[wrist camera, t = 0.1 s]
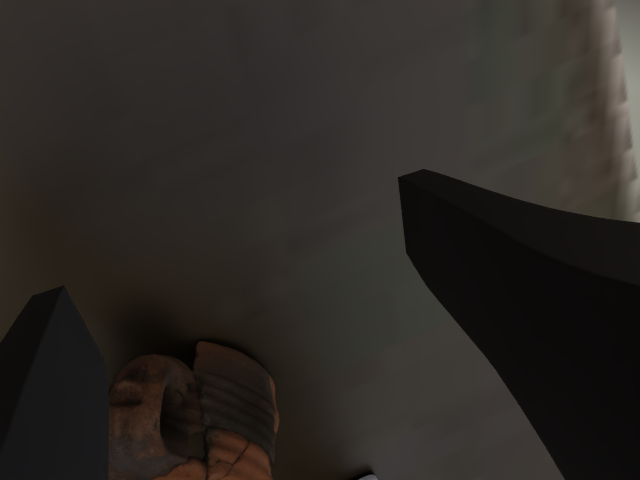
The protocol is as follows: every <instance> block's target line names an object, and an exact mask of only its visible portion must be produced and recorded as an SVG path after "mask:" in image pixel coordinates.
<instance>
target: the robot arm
mask: <svg viewBox="0 0 640 480" xmlns="http://www.w3.org/2000/svg"><path fill="white" fill-rule="evenodd" d="M398 182H399V191H400V201H401V210H402V219H403V228H404V237H405V246H406V253H407V255H408V256H409V258H410V260H411V261H412V263H413V265H414V266H415V268H416V270H417V271H418V273H419V275H420V276H421V278H422V279H423V281H424V282H425V284H426V286H427V287H428V288H429V289H430V291H431V292H432V293H433V294H434V296H435V297H436V298H437V299H438V300H439V302H440V303H441V304H442V305H443V307H444V308H445V309H446V310H447V311H448V313H449V314H450V315H451V316H452V317H453V318H454V320H455V321H456V322H457V323H458V324H459V326H460V327H461V328H462V329H463V330H464V331H465V333H466V334H467V335H468V336H469V337H470V339H471V340H472V341H473V342H474V343H475V345H476V346H477V347H478V348H479V349H480V350H481V352H482V353H483V354H484V355H485V357H486V358H487V359H488V360H489V362H490V363H491V364H492V366H493V367H494V368H495V370H496V371H497V373H498V374H499V376H500V377H501V379H502V380H503V382H504V383H505V385H506V386H507V388H508V389H509V391H510V392H511V394H512V395H513V397H514V398H515V400H516V401H517V403H518V404H519V406H520V407H521V409H522V410H523V412H524V413H525V415H526V417H527V418H528V420H529V421H530V423H531V425H532V426H533V428H534V429H535V431H536V432H537V434H538V436H539V437H540V439H541V440H542V442H543V444H544V445H545V447H546V449H547V450H548V452H549V454H550V455H551V457H552V459H553V460H554V462H555V464H556V465H557V467H558V469H559V471H560V472H561V474H562V476H563V477H564V479H565V480H640V223H637V222H628V221H619V220H612V219H605V218H598V217H592V216H587V215H582V214H576V213H571V212H566V211H561V210H557V209H552V208H548V207H544V206H541V205H537V204H533V203H529V202H526V201H522V200H519V199H515V198H512V197H509V196H505V195H502V194H499V193H496V192H493V191H490V190H487V189H484V188H481V187H478V186H475V185H472V184H469V183H466V182H463V181H460V180H457V179H455V178H452V177H449V176H446V175H443V174H440V173H436V172H433V171H429V170H425V169H422V170H419V171H416V172H413V173H410V174H407V175H404V176H401V177H398ZM0 480H109V394H108V386H107V378H106V371H105V365H104V358H103V356H102V354H101V352H100V350H99V349H98V347H97V345H96V343H95V341H94V339H93V338H92V336H91V334H90V332H89V330H88V328H87V327H86V325H85V323H84V321H83V319H82V317H81V316H80V314H79V312H78V310H77V308H76V306H75V305H74V303H73V301H72V299H71V297H70V296H69V294H68V292H67V290H66V288H65V286H61V287H58V288H54V289H51V290H48V291H45V292H42V293H39V294H36V295H33V296H32V297H31V299H30V300H29V301H28V303H27V304H26V305H25V307H24V308H23V310H22V311H21V313H20V314H19V316H18V317H17V319H16V320H15V322H14V323H13V325H12V326H11V328H10V329H9V331H8V332H7V334H6V336H5V337H4V339H3V340H2V341H1V343H0ZM358 480H378V479H377V477H376V476H375V475H367V476H365V477H363V478H360V479H358Z"/></svg>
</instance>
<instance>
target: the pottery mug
mask: <svg viewBox="0 0 640 480" xmlns="http://www.w3.org/2000/svg"><path fill="white" fill-rule="evenodd" d="M195 353H196V359H195V360H194V362H193V367H192V372H191V370H190V369H189V368H188V367H187V365H185V364H184V363H183V362H181V361H180V360H178V359H176V358H173V357H170V356H167V355H156V354H152V355H144V356H139V357H137V358H135V359H134V360H132V361H131V362H130V363H128V364H127V365H126V366H124V367H123V368H122V369H121V370H120V371H119V373H118V374H117V375H116V377H115V378H114V380H113V382H112V384H111V386H110V388H109V391H108V394H109V480H273V477H272V474H271V467H272V466H273V465H274V457H275V454H276V448H275V445H274V444H275V438H276V433H277V430H278V425H279V413H278V410H277V407H276V400H275V384H274V381H273V379H272V378H271V376H270V375H269V374H268V372H267V371H266V370H265V369H264V368H263V367H262V366H260V365H259V364H258V362H257V361H255V360H254V359H251V358H249V357H248V356H246V355H245V354H243V353H242V352H239V351H237V350H235V349H232V348H229V347H224V346H221V345H218V344H215V343H209V342H204V341H200V342H198V343H197V345H196V351H195ZM199 432H201V433H202V434H203V441H204V451H205V455H204V459H200V458H198V457H195V456H192V457H188V452H189V444H188V441H187V439H186V438H188V437H190V436H192V435H194V434H197V433H199Z"/></svg>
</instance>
